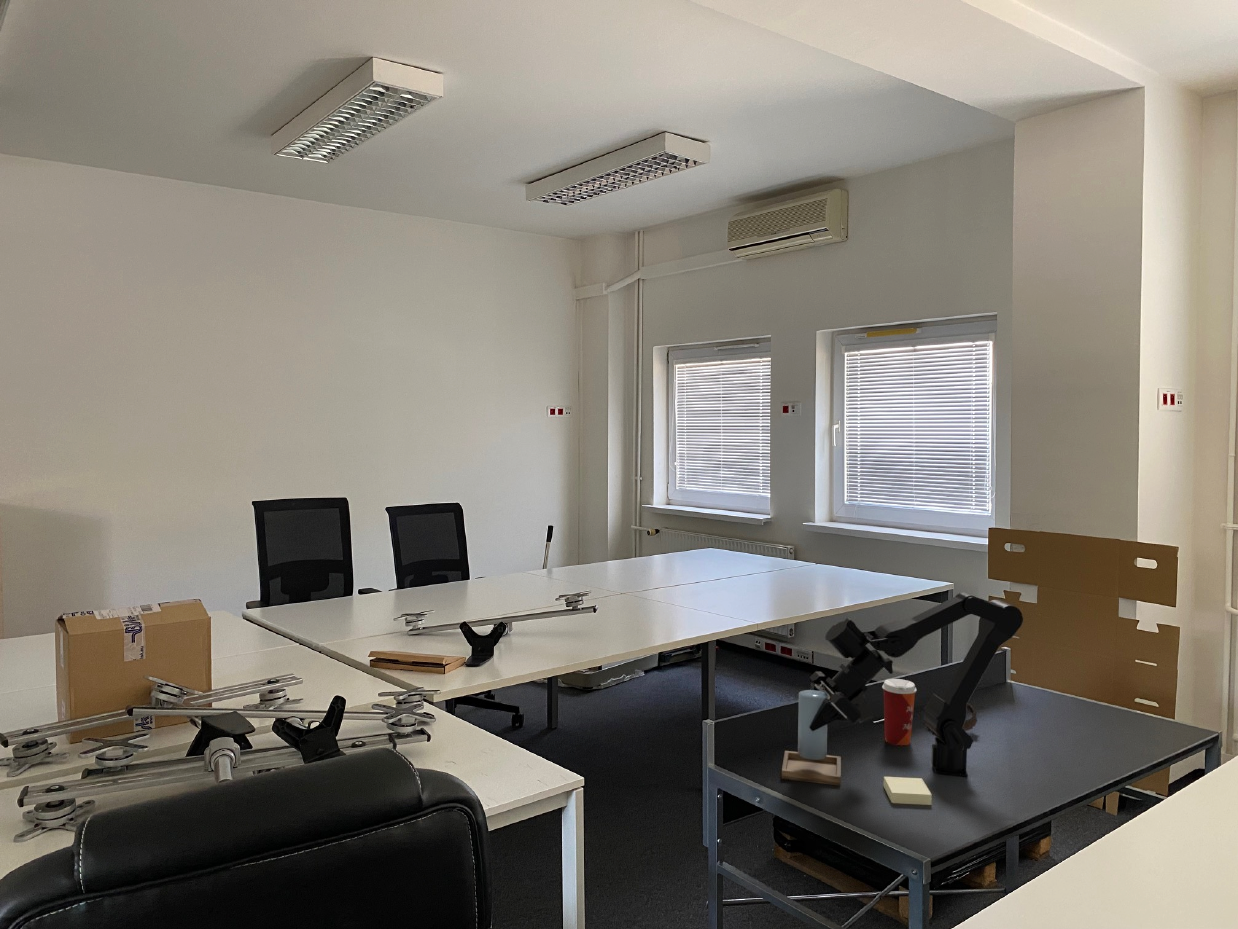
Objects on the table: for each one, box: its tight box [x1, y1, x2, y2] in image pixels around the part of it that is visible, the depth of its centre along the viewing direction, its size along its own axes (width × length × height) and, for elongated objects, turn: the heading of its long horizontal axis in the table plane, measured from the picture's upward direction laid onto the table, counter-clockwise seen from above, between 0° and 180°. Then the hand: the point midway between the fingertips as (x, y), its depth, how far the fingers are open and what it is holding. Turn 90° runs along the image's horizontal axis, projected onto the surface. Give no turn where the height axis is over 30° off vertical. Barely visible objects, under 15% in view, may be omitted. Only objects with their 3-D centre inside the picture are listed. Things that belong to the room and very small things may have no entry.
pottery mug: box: [926, 701, 978, 732], centre depth 211 cm, size 12×9×8 cm
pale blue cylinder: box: [797, 689, 828, 760], centre depth 184 cm, size 6×6×13 cm
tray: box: [781, 750, 842, 786], centre depth 184 cm, size 12×11×2 cm
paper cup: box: [881, 678, 917, 747], centre depth 202 cm, size 8×8×14 cm
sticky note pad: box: [883, 776, 933, 806], centre depth 173 cm, size 8×8×2 cm
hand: (806, 724), depth 184 cm, fingers closed on pale blue cylinder, 6 cm apart
